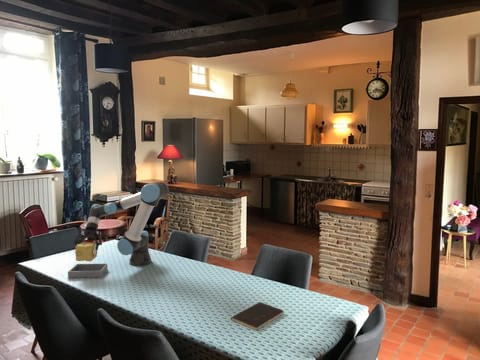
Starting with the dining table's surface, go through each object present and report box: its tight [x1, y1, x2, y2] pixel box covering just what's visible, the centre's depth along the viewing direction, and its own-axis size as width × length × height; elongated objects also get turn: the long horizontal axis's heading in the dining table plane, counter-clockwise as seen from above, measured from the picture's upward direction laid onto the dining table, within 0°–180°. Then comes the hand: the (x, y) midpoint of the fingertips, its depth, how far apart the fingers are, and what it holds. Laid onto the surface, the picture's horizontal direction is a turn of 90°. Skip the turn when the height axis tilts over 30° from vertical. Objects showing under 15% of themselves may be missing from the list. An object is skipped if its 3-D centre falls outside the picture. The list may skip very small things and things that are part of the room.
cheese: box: [75, 241, 98, 262], centre depth 243 cm, size 10×11×10 cm
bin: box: [67, 263, 109, 280], centre depth 245 cm, size 20×15×4 cm
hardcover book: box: [230, 301, 284, 331], centre depth 188 cm, size 16×23×2 cm
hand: (85, 254), depth 241 cm, fingers closed on cheese, 11 cm apart
